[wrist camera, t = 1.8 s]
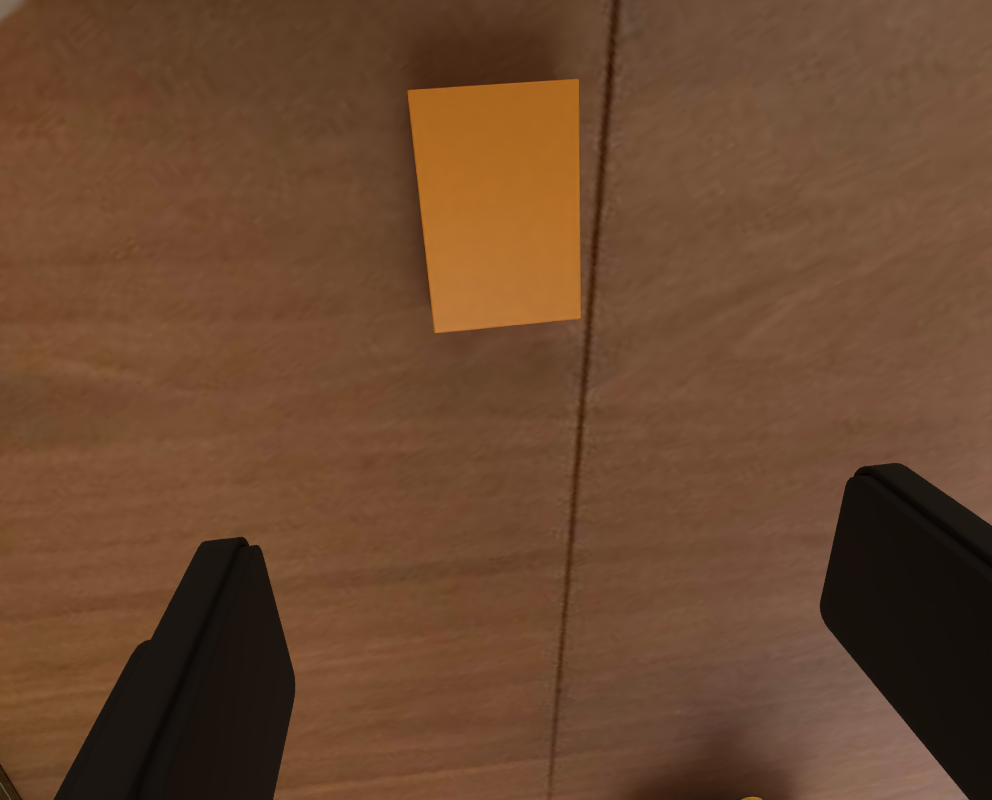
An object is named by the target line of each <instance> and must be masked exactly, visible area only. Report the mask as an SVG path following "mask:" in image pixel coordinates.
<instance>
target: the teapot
mask: <svg viewBox="0 0 992 800" xmlns="http://www.w3.org/2000/svg"><path fill="white" fill-rule="evenodd" d="M741 800H762V799H761V798H759V797H747V798H744V799H741Z"/></svg>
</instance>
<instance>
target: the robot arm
mask: <svg viewBox="0 0 992 800" xmlns="http://www.w3.org/2000/svg"><path fill="white" fill-rule="evenodd" d="M820 612H821V615H822V618H823V620H824V623H825V624H826V626H827V627H828V629H829V630H830V631H831V632H832V633H833V635H834V636H835V637H836V638H837V640H838V641H839V642H840V643H841V644H842V646H843V647H844V648H845V649H846V650H847V652H848V653H849V654H850V655H851V657H852V658H853V659H854V660H855V661H856V663H857V664H858V665H859V666H860V668H861V669H862V670H863V671H864V672H865V674H866V675H867V676H868V677H869V678H870V680H871V681H872V682H873V683H874V685H875V686H876V687H877V688H878V689H879V691H880V692H881V693H882V694H883V695H884V697H885V698H886V699H887V700H888V702H889V703H890V704H891V705H892V706H893V708H894V709H895V710H896V711H897V713H898V714H899V715H900V716H901V717H902V719H903V720H904V721H905V722H906V723H907V725H908V726H909V727H910V728H911V730H912V731H913V732H914V733H915V734H916V736H917V737H918V738H919V739H920V741H921V742H922V743H923V744H924V745H925V747H926V748H927V749H928V750H929V751H930V753H931V754H932V755H933V756H934V758H935V759H936V760H937V761H938V762H939V764H940V765H941V766H942V767H943V768H944V770H945V771H946V772H947V773H948V775H949V776H950V777H951V778H952V779H953V781H954V782H955V783H956V784H957V786H958V787H959V788H960V789H961V790H962V792H963V793H964V794H965V795H966V796H967V798H968V799H969V800H992V526H991V525H990V524H989V523H987V522H986V521H984V520H983V519H981V518H980V517H978V516H977V515H976V514H974V513H973V512H971V511H970V510H968V509H967V508H965V507H964V506H963V505H961V504H960V503H958V502H957V501H955V500H954V499H953V498H951V497H950V496H948V495H947V494H945V493H944V492H942V491H941V490H940V489H938V488H937V487H935V486H934V485H932V484H931V483H929V482H928V481H927V480H925V479H924V478H922V477H921V476H919V475H918V474H916V473H915V472H914V471H912V470H911V469H909V468H908V467H906V466H904V465H902V464H900V463H891V464H882V465H873V466H864V467H861V468H859V469H858V470H857V471H856V472H855V474H854V477H852V478H850V479H849V480H848V481H847V483H846V486H845V491H844V495H843V500H842V505H841V509H840V514H839V518H838V523H837V528H836V532H835V537H834V541H833V546H832V550H831V555H830V560H829V564H828V569H827V573H826V578H825V582H824V587H823V592H822V596H821V601H820ZM294 697H295V676H294V671H293V667H292V663H291V660H290V656H289V652H288V648H287V644H286V641H285V637H284V633H283V629H282V625H281V622H280V618H279V614H278V610H277V606H276V602H275V599H274V595H273V591H272V587H271V583H270V580H269V576H268V572H267V568H266V564H265V561H264V557H263V553H262V550H261V548H260V547H259V546H258V545H253V546H249V544H248V542H247V540H246V539H245V538H243V537H237V538H228V539H220V540H211V541H204V542H202V543H201V544H200V546H199V547H198V549H197V551H196V553H195V555H194V557H193V559H192V561H191V563H190V565H189V567H188V568H187V570H186V572H185V574H184V576H183V578H182V580H181V582H180V584H179V586H178V588H177V590H176V592H175V594H174V596H173V598H172V599H171V601H170V603H169V605H168V607H167V609H166V611H165V613H164V615H163V617H162V619H161V621H160V623H159V625H158V627H157V628H156V630H155V632H154V634H153V636H152V638H151V640H147V641H144V642H143V643H141V644H140V645H138V646H137V648H136V649H135V651H134V652H133V653H132V655H131V657H130V658H129V660H128V662H127V664H126V666H125V668H124V670H123V671H122V673H121V675H120V677H119V679H118V681H117V683H116V684H115V686H114V688H113V690H112V692H111V694H110V696H109V697H108V699H107V701H106V703H105V705H104V707H103V709H102V711H101V712H100V714H99V716H98V718H97V720H96V722H95V724H94V725H93V727H92V729H91V731H90V733H89V735H88V737H87V738H86V740H85V742H84V744H83V746H82V748H81V750H80V751H79V753H78V755H77V757H76V759H75V761H74V763H73V764H72V766H71V768H70V770H69V772H68V774H67V776H66V777H65V779H64V781H63V783H62V785H61V787H60V789H59V790H58V792H57V794H56V796H55V798H54V800H273V797H274V792H275V788H276V783H277V778H278V773H279V769H280V764H281V759H282V755H283V750H284V745H285V740H286V736H287V731H288V726H289V722H290V717H291V712H292V708H293V703H294Z"/></svg>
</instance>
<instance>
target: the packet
mask: <svg viewBox="0 0 992 800" xmlns="http://www.w3.org/2000/svg"><path fill="white" fill-rule="evenodd" d="M407 94H408V103H409V112H410V121H411V130H412V139H413V147H414V156H415V165H416V174H417V183H418V192H419V201H420V210H421V219H422V228H423V236H424V245H425V254H426V263H427V272H428V281H429V290H430V299H431V308H432V317H433V326H434V332H435V333H443V332H453V331H463V330H473V329H483V328H493V327H503V326H513V325H523V324H532V323H542V322H552V321H562V320H572V319H580V318H581V289H580V151H579V79H565V80H550V81H535V82H520V83H505V84H490V85H475V86H460V87H445V88H430V89H415V90H408V91H407Z"/></svg>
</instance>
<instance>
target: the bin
mask: <svg viewBox="0 0 992 800" xmlns="http://www.w3.org/2000/svg"><path fill="white" fill-rule="evenodd" d="M0 800H21V799H20V798H19V796H18V794H17V793H16V791H15V789H14V788H13V786H12V785H11V783H10V781H9V780H8V778H7V776H6V775H5V773H4V772H3V770H2V768H1V767H0Z"/></svg>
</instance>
